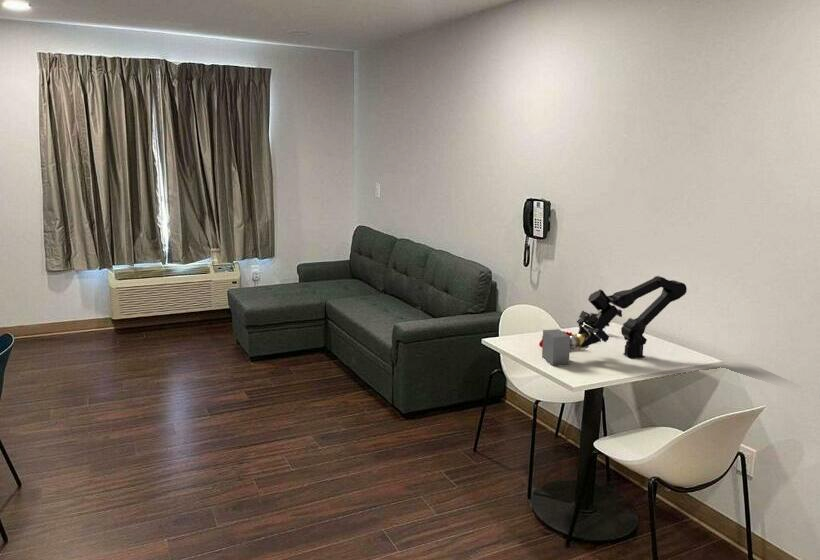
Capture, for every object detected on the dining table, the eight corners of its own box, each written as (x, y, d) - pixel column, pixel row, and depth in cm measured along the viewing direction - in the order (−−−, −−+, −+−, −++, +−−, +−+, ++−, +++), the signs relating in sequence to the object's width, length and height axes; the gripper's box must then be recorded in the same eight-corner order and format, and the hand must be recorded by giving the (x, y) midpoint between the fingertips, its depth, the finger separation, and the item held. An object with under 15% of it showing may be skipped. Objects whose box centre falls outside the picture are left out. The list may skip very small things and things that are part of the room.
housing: (557, 356, 268) (558, 329, 265) (568, 365, 257) (570, 336, 255) (542, 357, 266) (543, 330, 264) (552, 366, 256) (553, 337, 253)
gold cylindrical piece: (582, 345, 266) (583, 331, 265) (589, 349, 260) (589, 335, 259) (564, 346, 265) (565, 332, 263) (570, 351, 259) (571, 336, 258)
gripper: (582, 299, 269) (556, 326, 269) (603, 309, 251) (575, 338, 251) (598, 316, 272) (573, 343, 272) (620, 327, 254) (593, 356, 254)
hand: (578, 344), depth 262 cm, fingers closed on gold cylindrical piece, 6 cm apart
